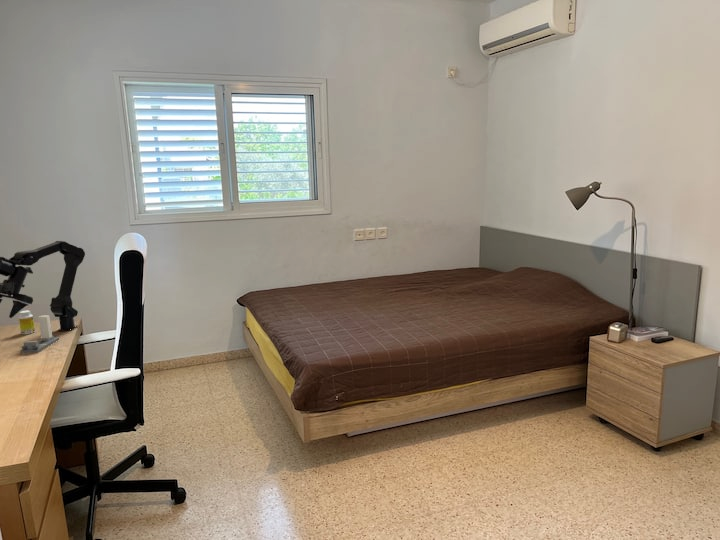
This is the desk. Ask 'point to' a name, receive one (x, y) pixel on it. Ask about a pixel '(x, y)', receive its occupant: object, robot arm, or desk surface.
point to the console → (37, 345)
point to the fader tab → (45, 328)
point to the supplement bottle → (26, 322)
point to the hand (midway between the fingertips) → (0, 315)
